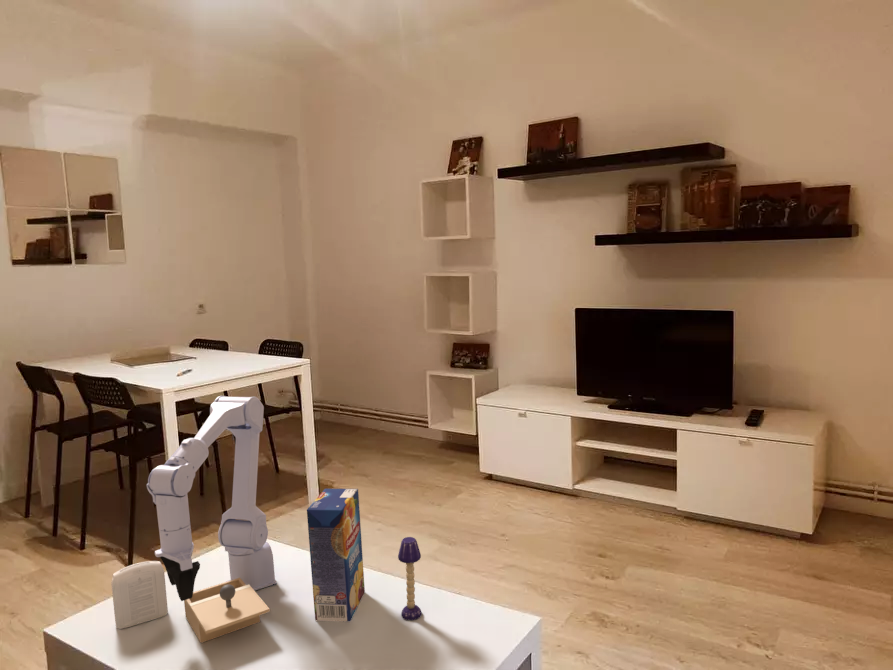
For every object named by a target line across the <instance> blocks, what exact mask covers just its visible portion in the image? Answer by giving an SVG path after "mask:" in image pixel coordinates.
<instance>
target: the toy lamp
mask: <svg viewBox="0 0 893 670" xmlns="http://www.w3.org/2000/svg"><path fill="white" fill-rule="evenodd" d="M421 557H422V555H421V551H420V547H419V543H418V541H417V539H416V538H415V537H413V536H407V537H403V538H402V539H401V543H400V546H399V550H398V555H397V559H398V561H400V562H401V563H403V564H405V570H406V575H405V577H406V605H405V606H404V607H403V608H402V610H401V614H400V615H401V618H402V619H404V620H406V621H416V620H418V619H420V618H421V617H422V610H421V607H419V605H417V604H416V601H415V599H416V594H415V592H416V587H415V584H416V583H415V581H416V580H415V565H414V564H415V563H417V562H419V561H420V560H421Z"/></svg>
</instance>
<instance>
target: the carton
mask: <svg viewBox="0 0 893 670" xmlns="http://www.w3.org/2000/svg"><path fill="white" fill-rule="evenodd" d="M229 580H230V581H229ZM229 580H227V582H226V581H224V582H221V583H218V584H216V585H211V586H208V587H206V588H203V589H198V590H196V591H193V596H192V598H190V599H187V600H184V601H183V602H184V604H183V605H184V614H185V615H184V616H185V619H186V620H187V622H188V623H189V626H190V627H191V628H192V630H193V632H194V633H195V635H196V637H197V639H198V641H199V642H200V643H201V644H202V643H205V642H208V641H211V640H214V639H216V638H219V637H222V636H225V635H227V634H230V633H233V632H235V631H238V630H240V629H245V628H248V627H250V626H252V625H255V624H258V623H260V622H261V615H259V616H256V617H253V618H250V619H247V620H245V621H242V622H239V623H236V624H233V625H230V626H228V627H225V628H222V629H219V630H216V631H213V632H211V633H208V634H206V633H205V631H204V630H203V628H202V626H201V625H200V623H199V622H198V620H197V618H196V617H195V615H194V613H193V612H192V610H191V608H190V607H189V604H190V603H193V602H196V601H199V600H202V599H205V598H208V597H212V596H215V595H218V594H220V590H221V588H222V587H223V586H224V585H227V584H230V585H232V586H233V587H234V588H235V589H236V588H239V587H242V586H246V584H245V583H244V582H243V581H242V579H241V578H237V579H234V580H231V579H229Z"/></svg>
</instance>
